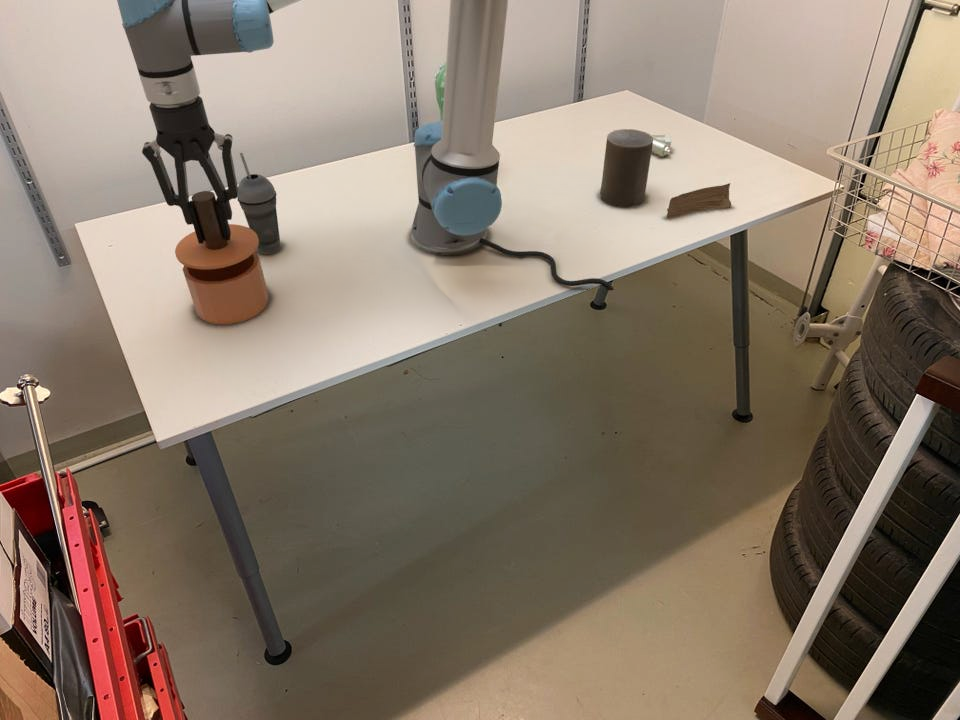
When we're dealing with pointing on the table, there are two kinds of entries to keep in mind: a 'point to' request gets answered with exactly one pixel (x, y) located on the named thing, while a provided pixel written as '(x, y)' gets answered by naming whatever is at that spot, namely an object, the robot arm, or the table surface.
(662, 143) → the pipe fitting
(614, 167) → the pillar candle
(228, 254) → the lid
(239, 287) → the canister
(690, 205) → the wood plank
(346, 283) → the table surface
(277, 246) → the beverage cup
